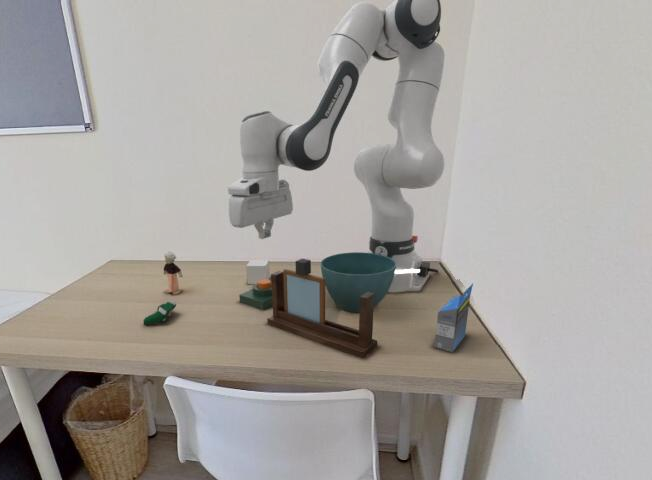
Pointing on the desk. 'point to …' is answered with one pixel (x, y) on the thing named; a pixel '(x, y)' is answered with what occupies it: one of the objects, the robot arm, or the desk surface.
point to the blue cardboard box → (452, 322)
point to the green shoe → (160, 313)
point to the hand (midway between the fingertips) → (265, 237)
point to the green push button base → (257, 297)
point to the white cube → (257, 271)
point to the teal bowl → (357, 278)
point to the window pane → (304, 292)
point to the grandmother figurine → (172, 273)
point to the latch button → (264, 284)
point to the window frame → (328, 332)
